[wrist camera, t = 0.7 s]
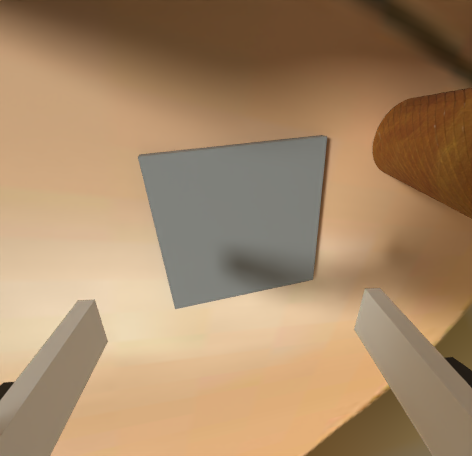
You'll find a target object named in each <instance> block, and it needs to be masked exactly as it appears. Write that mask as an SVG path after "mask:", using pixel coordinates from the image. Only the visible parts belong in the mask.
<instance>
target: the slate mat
mask: <svg viewBox="0 0 472 456" xmlns="http://www.w3.org/2000/svg"><path fill="white" fill-rule="evenodd" d="M326 144H327V136H323V135H320V136H311V137H301V138H292V139H282V140H273V141H263V142H254V143H245V144H235V145H226V146H216V147H207V148H198V149H188V150H179V151H169V152H160V153H150V154H141V155H139V156H138V159H139V163H140V167H141V171H142V175H143V179H144V184H145V188H146V192H147V196H148V200H149V204H150V208H151V212H152V216H153V220H154V224H155V228H156V233H157V237H158V241H159V245H160V249H161V253H162V257H163V261H164V265H165V269H166V273H167V277H168V281H169V286H170V290H171V294H172V298H173V302H174V306H175V309H178V308H183V307H187V306H192V305H197V304H201V303H206V302H211V301H216V300H220V299H225V298H230V297H234V296H239V295H244V294H248V293H253V292H258V291H262V290H267V289H272V288H277V287H281V286H286V285H291V284H295V283H300V282H305V281H309V280H313V274H314V264H315V254H316V244H317V234H318V224H319V214H320V204H321V194H322V184H323V174H324V164H325V154H326Z"/></svg>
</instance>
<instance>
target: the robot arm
mask: <svg viewBox="0 0 472 456" xmlns="http://www.w3.org/2000/svg"><path fill="white" fill-rule="evenodd" d="M354 330H355V331H356V333H357V335H358V336H359V338H360V340H361V341H362V343H363V344H364V346H365V348H366V349H367V351H368V352H369V354H370V356H371V357H372V359H373V360H374V362H375V364H376V365H377V367H378V369H379V370H380V372H381V373H382V375H383V377H384V378H385V380H386V381H387V383H388V385H389V386H390V388H391V390H392V391H393V393H394V394H395V396H396V398H397V399H398V401H399V402H400V404H401V406H402V407H403V409H404V410H405V412H406V414H407V415H408V417H409V418H410V420H411V422H412V423H413V425H414V426H415V428H416V430H417V431H418V433H419V435H420V436H421V438H422V439H423V441H424V443H425V444H426V446H427V447H428V449H429V451H430V452H431V454H432V455H433V456H472V371H471V370H470V369H468V368H467V367H466V366H465V365H463V364H462V363H460V362H459V361H457V360H456V359H454V358H453V357H450V358H444V357H443V356H442V355H441V354H440V353H439V352H438V351H437V350H436V349H435V347H434V346H433V345H432V344H431V343H430V342H429V341H428V340H427V339H426V338H425V337H424V335H423V334H422V333H421V332H420V331H419V330H418V329H417V328H416V327H415V326H414V325H413V324H412V322H411V321H410V320H409V319H408V318H407V317H406V316H405V315H404V314H403V313H402V312H401V310H400V309H399V308H398V307H397V306H396V305H395V304H394V303H393V302H392V301H391V300H390V298H389V297H388V296H387V295H386V294H385V293H384V292H383V291H382V290H381V289H380V288H365V290H364V294H363V298H362V302H361V305H360V309H359V313H358V317H357V321H356V325H355V329H354ZM107 342H108V341H107V337H106V334H105V331H104V328H103V325H102V321H101V318H100V315H99V312H98V308H97V305H96V302H95V300H78V301H77V302H76V304H75V305H74V306H73V308H72V309H71V310H70V311H69V313H68V314H67V315H66V317H65V318H64V319H63V320H62V322H61V323H60V324H59V326H58V327H57V328H56V329H55V331H54V332H53V333H52V335H51V336H50V337H49V338H48V340H47V341H46V342H45V344H44V345H43V346H42V347H41V349H40V350H39V351H38V353H37V354H36V355H35V356H34V358H33V359H32V360H31V362H30V363H29V364H28V365H27V367H26V368H25V369H24V371H23V372H22V373H21V374H20V376H19V377H18V378H17V380H16V381H15V382H5V383H3V384H2V385H0V456H50V455H51V453H52V451H53V449H54V447H55V445H56V443H57V441H58V439H59V437H60V435H61V433H62V431H63V429H64V427H65V425H66V423H67V421H68V419H69V417H70V415H71V413H72V411H73V409H74V407H75V405H76V403H77V401H78V399H79V397H80V395H81V394H82V392H83V390H84V388H85V386H86V384H87V382H88V380H89V378H90V376H91V374H92V372H93V370H94V368H95V366H96V364H97V362H98V360H99V358H100V356H101V354H102V352H103V350H104V348H105V346H106V344H107Z"/></svg>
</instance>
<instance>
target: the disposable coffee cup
mask: <svg viewBox="0 0 472 456" xmlns="http://www.w3.org/2000/svg"><path fill="white" fill-rule="evenodd" d="M373 157H374V161H375V163H376V165H377V167H378V168H379V169H380V170H381V171H383V172H384V173H387V174H388V175H390V176H392V177H394V178H396V179H398V180H400V181H402V182H404V183H405V184H408V185H409V186H411V187H413V188H415V189H417V190H418V191H420V192H423V193H425V194H427V195H428V196H430V197H432V198H434V199H436V200H438V201H440V202H442V203H444V204H446V205H447V206H449V207H451V208H453V209H455V210H457V211H459V212H460V213H462V214H464V215H466V216H468V217H470V218H472V88H468V89H464V90H463V89H462V90H457V91H451V92H446V93H439V94H437V95H436V94H433V95H429V96H422V97H416V98H410V99H407V100H405V101H403V102H401V103H399V104H398V105H396V106H395V107H394V108H393V109H392V110H391V111H390V112H389V113H388V114H387V115H386V116H385V118H384V119H383V120H382V122H381V124H380V126H379V128H378V129H377V132H376V135H375V138H374V142H373Z"/></svg>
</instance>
